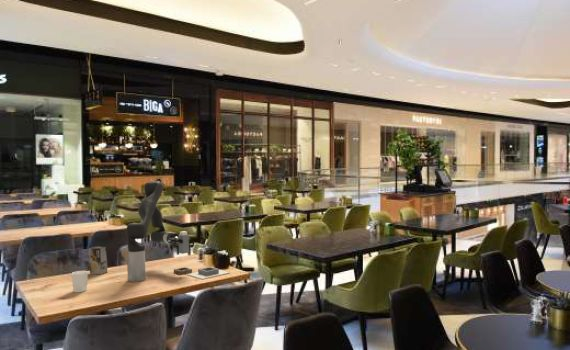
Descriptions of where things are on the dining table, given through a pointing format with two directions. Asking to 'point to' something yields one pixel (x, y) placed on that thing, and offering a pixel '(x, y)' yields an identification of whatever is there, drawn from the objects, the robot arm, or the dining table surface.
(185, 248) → the grey bottle
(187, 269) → the holster
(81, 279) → the white cup
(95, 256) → the coffee box
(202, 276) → the port
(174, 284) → the dining table surface
